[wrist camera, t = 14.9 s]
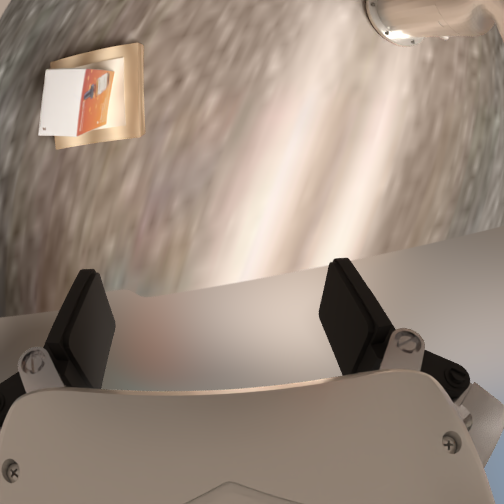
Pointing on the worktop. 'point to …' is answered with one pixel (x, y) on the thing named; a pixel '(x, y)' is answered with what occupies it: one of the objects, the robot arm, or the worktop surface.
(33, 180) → the worktop surface
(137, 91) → the maple plinth
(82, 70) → the small box
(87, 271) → the robot arm
